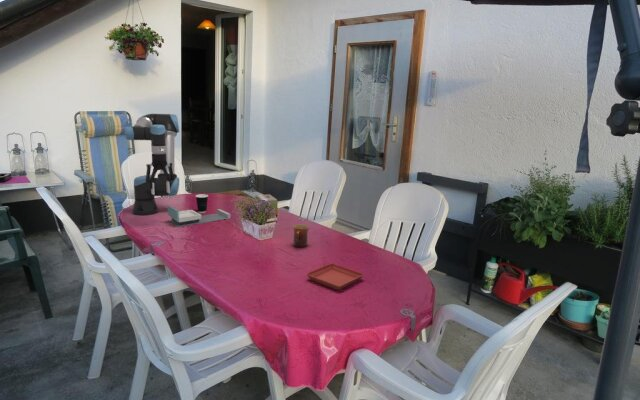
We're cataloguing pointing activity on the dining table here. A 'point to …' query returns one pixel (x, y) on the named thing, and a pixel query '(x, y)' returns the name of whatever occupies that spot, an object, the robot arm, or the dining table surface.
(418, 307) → the dining table surface
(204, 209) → the dixie cup
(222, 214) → the track
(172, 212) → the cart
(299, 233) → the mug
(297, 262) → the dining table surface
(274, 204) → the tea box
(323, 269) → the plant saucer
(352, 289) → the dining table surface
